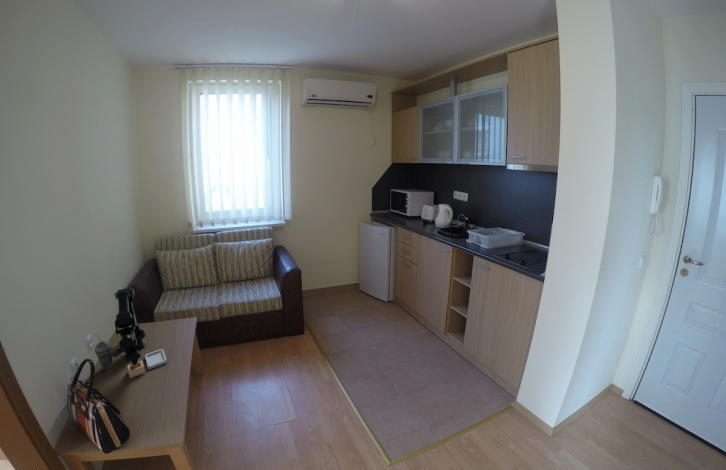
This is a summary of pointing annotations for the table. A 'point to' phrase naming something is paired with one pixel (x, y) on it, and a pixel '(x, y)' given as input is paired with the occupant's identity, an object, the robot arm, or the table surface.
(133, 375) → the holder
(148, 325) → the table surface
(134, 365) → the dowel
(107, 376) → the table surface
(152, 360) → the tray
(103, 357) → the beverage cup
